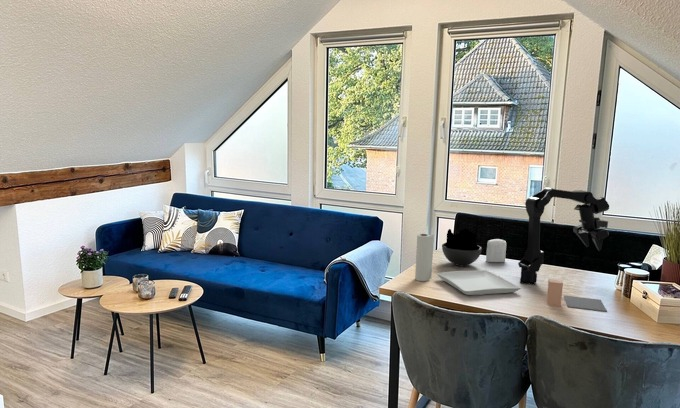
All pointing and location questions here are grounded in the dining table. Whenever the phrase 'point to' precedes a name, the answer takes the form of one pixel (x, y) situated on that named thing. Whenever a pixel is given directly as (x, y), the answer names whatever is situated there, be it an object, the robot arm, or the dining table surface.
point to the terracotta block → (554, 292)
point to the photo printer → (496, 250)
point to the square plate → (478, 282)
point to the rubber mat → (584, 303)
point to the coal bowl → (461, 247)
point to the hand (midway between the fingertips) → (593, 248)
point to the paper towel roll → (424, 257)
